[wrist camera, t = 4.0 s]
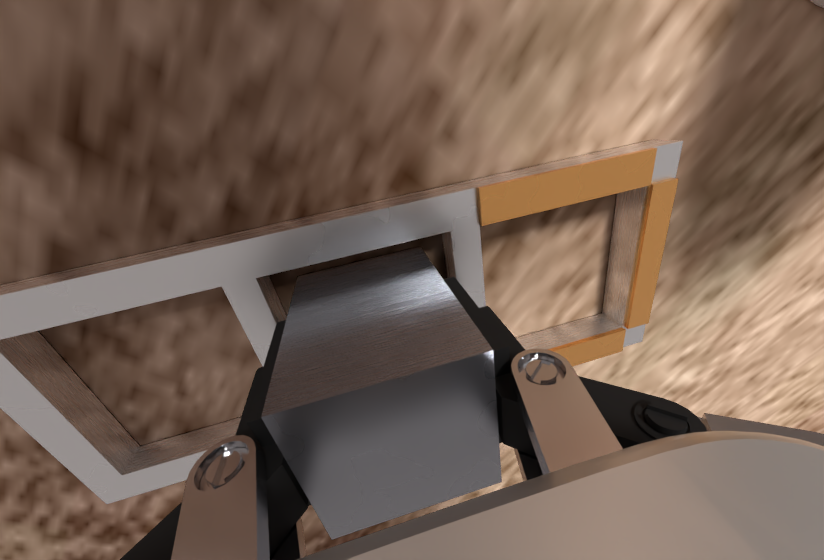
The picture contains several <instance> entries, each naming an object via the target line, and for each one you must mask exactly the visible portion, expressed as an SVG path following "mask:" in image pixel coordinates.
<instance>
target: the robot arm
mask: <svg viewBox="0 0 824 560" xmlns="http://www.w3.org/2000/svg"><path fill="white" fill-rule="evenodd" d="M443 280H444V281H445V282H446V284H447V285H448V287H449V288H450V290H451V291H452V292H453V294H454V295H455V297H456V298H457V299H458V301H459V302H460V304H461V305H462V307H463V308H464V309H465V311H466V312H467V314H468V315H469V317H470V318H471V319H472V321H473V322H474V324H475V325H476V326H477V328H478V329H479V331H480V332H481V334H482V335H483V336H484V338H485V339H486V341H487V342H488V343H489V345H490V346H491V348H492V349H493V354H494V370H495V386H496V402H497V417H498V433H499V443H502V442H503V443H504V444H505V445H508V446H510V447H513V448H514V451H515V454H516V458H517V461H518V465H519V468H520V471H521V475H522V478H523V482H521V483H518V484H515V485H512V486H509V487H506V488H503V489H500V490H497V491H494V492H491V493H488V494H485V495H482V496H479V497H476V498H474V499H471V500H468V501H465V502H462V503H459V504H456V505H453V506H450V507H447V508H444V509H441V510H439V511H436V512H433V513H430V514H427V515H424V516H421V517H418V518H415V519H412V520H409V521H406V522H404V523H401V524H398V525H395V526H392V527H389V528H386V529H383V530H380V531H378V532H375V533H372V534H369V535H366V536H363V537H360V538H357V539H354V540H351V541H349V542H346V543H343V544H340V545H337V546H334V547H331V548H328V549H325V550H323V551H320V552H317V553H314V554H311V555H308V556H307V555H306V547H305V540H304V532H303V525H302V520H301V516H302V515H303V513H304V512H305V511H306V510H307V508H308V506H309V505H311V503H310V501H309V499H308V498H307V496H306V494H305V492H304V491H303V489H302V487H301V486H300V484H299V482H298V480H297V479H296V477H295V475H294V473H293V472H292V470H291V468H290V466H289V465H288V463H287V461H286V460H285V458H284V456H283V454H282V453H281V451H280V449H279V447H278V446H277V444H276V442H275V441H274V439H273V437H272V435H271V434H270V432H269V430H268V428H267V427H266V425H265V423H264V421H263V420H262V418H261V416H262V412H263V408H264V404H265V400H266V396H267V392H268V389H269V385H270V381H271V377H272V373H273V369H274V365H275V361H276V358H277V354H278V350H279V346H280V342H281V338H282V334H283V331H284V327H285V323H286V320H284V321H280V322H277V324H276V327H275V330H274V334H273V337H272V340H271V344H270V347H269V350H268V353H267V357H266V360H265V363H264V367H260V368H259V369H257V371H256V374H255V377H254V380H253V383H252V386H251V389H250V392H249V395H248V398H247V401H246V404H245V407H244V410H243V414H242V417H241V420H240V423H239V426H238V429H237V432H236V435H235V436H232V437H229V438H226V439H224V440H222V441H220V442H218V443H217V444H215V445H213V446H212V447H211V448H210V449H208V450H207V451H206V452H205V453H204V454H203V455H202V456H201V457H200V458H199V459H198V460H197V461H196V463H195V464H194V466H193V467H192V469H191V470H190V472H189V475H188V478H187V480H186V485H185V490H184V495H183V500H182V502H181V503H180V504H179V505H178V506H177V507H176V508H175V509H174V510H173V511H172V512H171V513H170V514H169V515H167V516H166V517H165V518H164V519H163V520H162V521H161V522H160V523H159V524H158V525H157V526H156V527H155V528H153V529H152V530H151V531H150V532H149V533H148V534H147V535H146V536H145V537H144V538H143V539H142V540H141V541H139V542H138V543H137V544H136V545H135V546H134V547H133V548H132V549H131V550H130V551H129V552H128V553H127V554H125V555H124V556H123V557H122V558H121V559H120V560H824V434H821V433H817V432H812V431H806V430H800V429H794V428H788V427H783V426H777V425H771V424H765V423H759V422H754V421H748V420H742V419H736V418H730V417H725V416H719V415H713V414H707V413H704V415H703V417H702V418H700V417H697V416H696V415H694V414H693V413H692V412H691V411H689V410H688V409H686V408H684V407H683V406H681V405H679V404H677V403H675V402H672V401H669V400H666V399H664V398H660V397H656V396H652V395H648V394H644V393H641V392H637V391H633V390H629V389H625V388H622V387H618V386H614V385H610V384H606V383H602V382H599V381H595V380H591V379H587V378H583V377H580V376H578V375H577V374H576V372H575V370H574V369H573V367H572V365H571V364H570V363H569V362H568V361H567V359H566V358H564V357H563V356H561V355H560V354H558V353H556V352H553V351H551V350H546V349H529V350H525V349H524V347H523V346H522V345H521V344H520V343H519V342H518V340H517V339H516V338H515V337H514V336H513V335H512V333H511V332H510V331H509V330H508V329H507V327H506V326H505V325H504V324H503V323H502V322H501V320H500V319H499V318H498V317H497V316H496V315H495V313H494V312H493V311H492V310H491V309H490V308H489V307H488V306H484V307H480V308H479V307H478V306H477V305H476V303H475V302H474V301H473V299H472V298H471V297H470V296H469V294H468V293H467V292H466V291H465V289H464V288H463V287H462V286H461V284H460V283H459V282H458V281H457V279H456V278H455V277H450V278H447V279H443Z"/></svg>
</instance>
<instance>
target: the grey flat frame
mask: <svg viewBox="0 0 824 560" xmlns="http://www.w3.org/2000/svg"><path fill="white" fill-rule="evenodd" d="M682 144H683V141H675V140H649V141H644V142H640V143H635V144H631V145H626V146H622V147H617V148H613V149H608V150H604V151H599V152H595V153H590V154H586V155H581V156H577V157H572V158H568V159H563V160H559V161H554V162H550V163H545V164H541V165H537V166H532V167H528V168H523V169H519V170H514V171H510V172H505V173H501V174H496V175H492V176H487V177H483V178H478V179H474V180H469V181H465V182H460V183H456V184H451V185H447V186H442V187H438V188H433V189H429V190H424V191H420V192H416V193H411V194H407V195H402V196H398V197H393V198H389V199H384V200H380V201H375V202H371V203H366V204H362V205H357V206H353V207H348V208H344V209H339V210H335V211H330V212H326V213H321V214H317V215H312V216H308V217H303V218H299V219H294V220H290V221H286V222H281V223H277V224H272V225H268V226H263V227H259V228H254V229H250V230H245V231H241V232H236V233H232V234H227V235H223V236H218V237H214V238H209V239H205V240H200V241H196V242H191V243H187V244H182V245H178V246H173V247H169V248H165V249H160V250H156V251H151V252H147V253H142V254H138V255H133V256H129V257H124V258H120V259H115V260H111V261H106V262H102V263H97V264H93V265H88V266H84V267H79V268H75V269H70V270H66V271H61V272H57V273H52V274H48V275H43V276H39V277H35V278H30V279H26V280H21V281H17V282H12V283H8V284H3V285H0V408H1V409H2V410H3V411H4V412H5V413H6V414H7V415H9V416H10V417H11V418H12V419H13V420H14V421H15V422H16V423H17V424H19V425H20V426H21V427H22V428H23V429H24V430H25V431H26V432H27V433H28V434H30V435H31V436H32V437H33V438H34V439H35V440H36V441H37V442H38V443H40V444H41V445H42V446H43V447H44V448H45V449H46V450H47V451H48V452H49V453H51V454H52V455H53V456H54V457H55V458H56V459H57V460H58V461H59V462H60V463H62V464H63V465H64V466H65V467H66V468H67V469H68V470H69V471H70V472H72V473H73V474H74V475H75V476H76V477H77V478H78V479H79V480H80V481H81V482H83V483H84V484H85V485H86V486H87V487H88V488H89V489H90V490H91V491H92V492H94V493H95V494H96V495H97V496H98V497H99V498H100V499H101V500H102V501H104V502H105V503H106V504H109V503H113V502H116V501H119V500H123V499H126V498H129V497H132V496H136V495H139V494H142V493H146V492H149V491H152V490H155V489H159V488H162V487H165V486H169V485H172V484H175V483H178V482H182V481H185V480H187V478H188V475H189V472H190V470H191V469H192V467H193V466H194V464H195V463H196V461H197V460H198V459H199V458H200V457H201V456H202V455H203V454H204V453H205V452H206V451H207V450H208V449H210V448H211V447H212V446H213V445H215V444H217V443H218V442H220V441H222V440H224V439H226V438H229V437H232V436H235V435H236V432H237V429H238V426H239V423H240V420H241V417H240V418H237V419H233V420H230V421H226V422H223V423H220V424H216V425H213V426H209V427H206V428H202V429H199V430H195V431H192V432H188V433H185V434H181V435H178V436H174V437H171V438H167V439H164V440H161V441H157V442H154V443H150V444H147V445H143V446H139V445H138V444H137V443H136V441H135V440H134V439H133V438H132V437H131V436H130V435H129V433H128V432H127V431H126V430H125V429H124V428H123V427H122V426H121V424H120V423H119V422H118V421H117V420H116V419H115V418H114V417H113V415H112V414H111V413H110V412H109V411H108V410H107V409H106V407H105V406H104V405H103V404H102V403H101V402H100V401H99V400H98V398H97V397H96V396H95V395H94V394H93V393H92V392H91V390H90V389H89V388H88V387H87V386H86V385H85V384H84V383H83V381H82V380H81V379H80V378H79V377H78V376H77V375H76V374H75V372H74V371H73V370H72V369H71V368H70V367H69V366H68V364H67V363H66V362H65V361H64V360H63V359H62V358H61V357H60V355H59V354H58V353H57V352H56V351H55V350H54V349H53V347H52V346H51V345H50V344H49V343H48V342H47V341H46V340H45V338H44V337H43V336H42V335H41V334H40V333H39V332H38V331H39V330H43V329H47V328H51V327H55V326H59V325H64V324H68V323H72V322H76V321H80V320H84V319H89V318H93V317H97V316H101V315H105V314H109V313H113V312H118V311H122V310H126V309H130V308H134V307H138V306H143V305H147V304H151V303H155V302H159V301H163V300H167V299H172V298H176V297H180V296H184V295H188V294H192V293H197V292H201V291H205V290H209V289H213V288H217V287H221V286H222V288H223V290H224V292H225V294H226V296H227V298H228V300H229V302H230V304H231V306H232V308H233V310H234V312H235V314H236V316H237V318H238V319H239V321H240V323H241V325H242V327H243V329H244V331H245V333H246V335H247V337H248V339H249V341H250V343H251V345H252V347H253V349H254V351H255V353H256V355H257V357H258V358H259V360H260V362H261V364H262V366H263V367H264V363H265V360H266V357H267V353H268V350H269V347H270V344H271V340H272V337H273V334H274V330H275V327H276V324H277V322H280V321H284V320H286V319H287V317H286V314H285V312H284V310H283V307H282V305H281V303H280V300H279V298H278V296H277V293H276V291H275V289H274V286H273V284H272V281H271V279H270V277H269V275H271V274H275V273H280V272H284V271H288V270H292V269H296V268H300V267H305V266H309V265H313V264H317V263H321V262H325V261H329V260H334V259H338V258H342V257H346V256H350V255H354V254H359V253H363V252H367V251H371V250H375V249H379V248H383V247H388V246H392V245H396V244H400V243H404V242H408V241H413V240H417V239H421V238H425V237H429V236H433V235H437V234H442V241H443V248H444V256H445V263H446V270H447V278H450V277H455V278H456V279H457V281H458V282H459V283H460V284H461V286H462V287H463V288H464V289H465V291H466V292H467V293H468V294H469V296H470V297H471V298H472V299H473V301H474V302H475V303H476V305H477V306H478V307H479V308H480V307H484V306H486V302H485V289H484V276H483V263H482V249H481V236H480V225H481V226H484V225H488V224H492V223H496V222H501V221H505V220H509V219H513V218H517V217H521V216H525V215H530V214H534V213H538V212H542V211H546V210H550V209H554V208H559V207H563V206H567V205H571V204H575V203H579V202H583V201H588V200H592V199H596V198H600V197H604V196H608V195H612V194H617V198H616V206H615V214H614V222H613V230H612V238H611V246H610V254H609V262H608V270H607V278H606V286H605V294H604V302H603V310H602V313H601V314H598V315H594V316H591V317H587V318H584V319H580V320H577V321H573V322H570V323H567V324H563V325H560V326H556V327H553V328H549V329H546V330H542V331H539V332H535V333H532V334H528V335H525V336H521V337H518V338H516V339H517V340H518V342H519V343H520V344H521V345H522V346H523V347H524V349H525V350H529V349H546V350H551V351H553V352H556V353H558V354H560V355H561V356H563V357H564V358H566V359H567V361H568V362H569V363H570V364H571V365H572V366H575V365H579V364H582V363H585V362H588V361H592V360H595V359H598V358H602V357H605V356H608V355H611V354H615V353H618V352H621V351H622V350H623V347H625V346H628V345H632V344H635V343H638V342H642V339H643V334H644V329H645V324H647V323H648V322H649V318H650V313H651V308H652V303H653V298H654V294H655V289H656V284H657V279H658V275H659V270H660V265H661V260H662V255H663V251H664V246H665V241H666V236H667V232H668V227H669V222H670V217H671V212H672V208H673V203H674V198H675V193H676V189H677V184H678V179H679V178H676V173H677V168H678V163H679V158H680V154H681V149H682Z"/></svg>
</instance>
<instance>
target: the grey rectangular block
mask: <svg viewBox="0 0 824 560" xmlns="http://www.w3.org/2000/svg"><path fill="white" fill-rule="evenodd" d="M261 418H262V420H263V421H264V423H265V425H266V427H267V428H268V430H269V432H270V434H271V435H272V437H273V439H274V441H275V442H276V444H277V446H278V447H279V449H280V451H281V453H282V454H283V456H284V458H285V460H286V461H287V463H288V465H289V466H290V468H291V470H292V472H293V473H294V475H295V477H296V479H297V480H298V482H299V484H300V486H301V487H302V489H303V491H304V492H305V494H306V496H307V498H308V499H309V501H310V503H311V505H312V506H313V508H314V510H315V512H316V513H317V515H318V517H319V518H320V520H321V522H322V524H323V525H324V527H325V529H326V531H327V532H328V534H329V536H330V538H331V539H335V538H338V537H341V536H344V535H347V534H350V533H353V532H356V531H359V530H362V529H365V528H368V527H370V526H373V525H376V524H379V523H382V522H385V521H388V520H391V519H394V518H397V517H400V516H403V515H406V514H409V513H412V512H415V511H417V510H420V509H423V508H426V507H429V506H432V505H435V504H438V503H441V502H444V501H447V500H450V499H453V498H456V497H459V496H462V495H465V494H467V493H470V492H473V491H476V490H479V489H482V488H485V487H488V486H491V485H494V484H497V483H500V482H502V481H501V465H500V449H499V433H498V417H497V402H496V386H495V370H494V354H493V349H492V348H491V346H490V345H489V343H488V342H487V341H486V339H485V338H484V336H483V335H482V334H481V332H480V331H479V329H478V328H477V326H476V325H475V324H474V322H473V321H472V319H471V318H470V317H469V315H468V314H467V312H466V311H465V309H464V308H463V307H462V305H461V304H460V302H459V301H458V299H457V298H456V297H455V295H454V294H453V292H452V291H451V290H450V288H449V287H448V285H447V284H446V282H445V281H444V280H443V278H442V277H441V275H440V274H439V273H438V271H437V270H436V268H435V267H434V265H433V264H432V263H431V261H430V260H429V258H428V257H427V256H426V254H425V253H424V251H423V250H422V248H421V247H417V248H413V249H409V250H405V251H400V252H396V253H392V254H388V255H384V256H380V257H376V258H372V259H367V260H363V261H359V262H355V263H351V264H347V265H343V266H339V267H334V268H330V269H326V270H322V271H318V272H314V273H310V274H306V275H301V276H298V277H297V280H296V284H295V288H294V292H293V296H292V300H291V304H290V307H289V311H288V315H287V319H286V323H285V327H284V331H283V334H282V338H281V342H280V346H279V350H278V354H277V358H276V361H275V365H274V369H273V373H272V377H271V381H270V385H269V389H268V392H267V396H266V400H265V404H264V408H263V412H262V416H261Z"/></svg>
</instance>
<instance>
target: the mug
mask: <svg viewBox="0 0 824 560" xmlns="http://www.w3.org/2000/svg"><path fill="white" fill-rule="evenodd" d="M810 1H811V2H813V3H814V4H816V5H817V6H820V7H822V8H824V0H810Z"/></svg>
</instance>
